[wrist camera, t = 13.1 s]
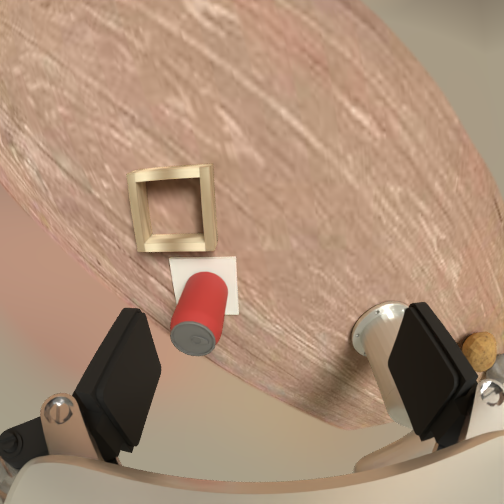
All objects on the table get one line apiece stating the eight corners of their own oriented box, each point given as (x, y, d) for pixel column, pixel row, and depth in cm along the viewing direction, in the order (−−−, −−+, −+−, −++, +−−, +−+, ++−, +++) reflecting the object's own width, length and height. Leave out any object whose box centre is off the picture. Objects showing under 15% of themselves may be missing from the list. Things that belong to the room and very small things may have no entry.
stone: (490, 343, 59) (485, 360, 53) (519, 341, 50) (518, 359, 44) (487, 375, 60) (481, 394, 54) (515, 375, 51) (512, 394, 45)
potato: (478, 313, 47) (496, 334, 39) (490, 337, 50) (505, 356, 43) (448, 343, 50) (463, 366, 42) (464, 363, 53) (477, 383, 46)
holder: (213, 163, 36) (208, 167, 33) (217, 240, 41) (214, 251, 38) (136, 169, 36) (126, 173, 33) (146, 242, 41) (137, 251, 38)
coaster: (236, 256, 42) (235, 258, 41) (239, 312, 46) (238, 314, 45) (170, 257, 42) (168, 258, 41) (179, 311, 46) (178, 313, 46)
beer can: (226, 308, 45) (218, 363, 34) (185, 302, 45) (167, 354, 34) (230, 272, 42) (221, 323, 31) (186, 266, 42) (164, 314, 31)
